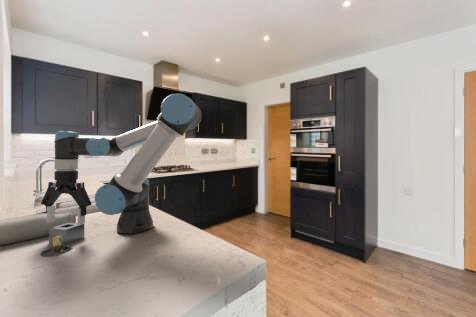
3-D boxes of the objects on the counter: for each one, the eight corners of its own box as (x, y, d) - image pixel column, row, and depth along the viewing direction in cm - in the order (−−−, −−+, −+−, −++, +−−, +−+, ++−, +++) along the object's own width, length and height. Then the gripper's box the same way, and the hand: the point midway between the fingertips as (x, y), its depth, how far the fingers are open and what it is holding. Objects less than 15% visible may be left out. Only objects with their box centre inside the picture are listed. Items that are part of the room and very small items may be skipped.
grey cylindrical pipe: (-15, 241, 87) (72, 224, 108) (-15, 253, 80) (78, 233, 101) (-16, 217, 86) (73, 205, 107) (-16, 227, 79) (78, 212, 100)
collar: (84, 238, 92) (84, 223, 92) (65, 245, 84) (65, 229, 84) (68, 236, 94) (68, 222, 94) (48, 243, 86) (48, 228, 86)
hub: (79, 247, 83) (79, 232, 83) (56, 257, 75) (56, 241, 75) (57, 246, 85) (57, 231, 85) (33, 256, 76) (33, 240, 76)
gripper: (101, 170, 91) (101, 221, 91) (48, 168, 94) (47, 218, 94) (87, 171, 84) (86, 227, 84) (29, 169, 87) (28, 224, 87)
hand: (65, 223), depth 89 cm, fingers open, 13 cm apart
